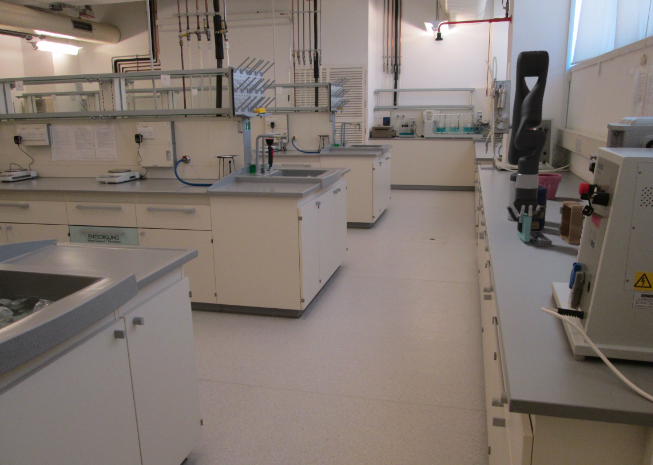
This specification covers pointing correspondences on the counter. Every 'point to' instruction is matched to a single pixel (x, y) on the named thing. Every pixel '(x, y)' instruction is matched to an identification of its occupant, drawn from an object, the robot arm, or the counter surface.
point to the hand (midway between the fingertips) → (523, 232)
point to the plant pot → (549, 183)
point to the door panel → (525, 228)
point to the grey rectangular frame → (544, 240)
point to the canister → (542, 202)
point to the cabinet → (571, 222)
